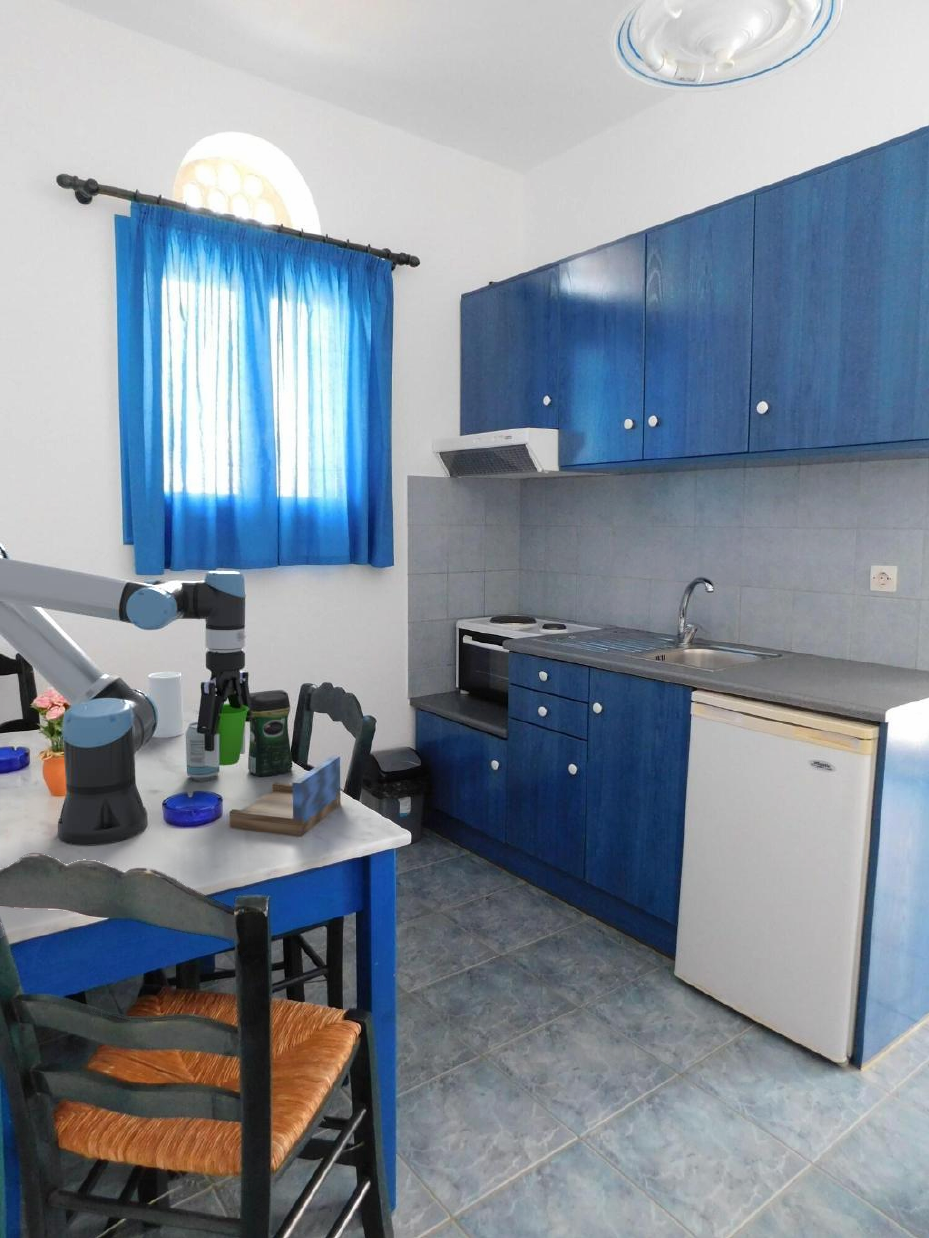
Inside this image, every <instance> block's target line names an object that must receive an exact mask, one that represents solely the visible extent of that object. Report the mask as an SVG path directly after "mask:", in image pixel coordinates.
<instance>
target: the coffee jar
mask: <svg viewBox="0 0 929 1238" xmlns="http://www.w3.org/2000/svg"><path fill="white" fill-rule="evenodd" d="M249 694H250V702H251V710H252V715H251V716H250V717H251V720H250V722H249V745H248V758H247V759H248V760H247V762H248V763H247V765H248V766H247V769H248V771H249V773H250V774H252V775H253V776H258V777H264V776H266V777H267V776H272V775H279V774H283V773H287V772H289V771H291V770H292V769H293V757H292V749H291V743H290V737H289V735H290V734H289V728H288V727H289V725H288V723H289V721H288V720H289V719H288V718H289V714H290V712H291V703H290V698H289V694H288V693H287V692H286V691H285V690H283V689H276V690H274V689H273V690H264V691H259V692H258V691H257V692H249ZM248 717H249V716H248Z"/></svg>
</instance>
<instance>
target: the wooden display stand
mask: <svg viewBox="0 0 929 1238" xmlns="http://www.w3.org/2000/svg"><path fill="white" fill-rule="evenodd" d="M341 801H342V800H341V756H340V755H332V756H330V757H329V758H327V759H325V760H324V761H322V762H321V763H320V764H318V765H316V766H315V767H314V768H312V769H310V770H309V771H308V772H306V773H305V774H303V775H301V776H300V777H299V778H297V779H295V780H294V781H292V783H288V782H273V783H272V790H270V791H269V792H267V793H266V794H264V795H262V796H261V797H259V798H258V799H256V800H255V801H253V802H252V803H250V804H248V805H247V806H245V807H244V808H242V809H235V808H233V809H231V810H230V811H229V828H230V829H234V830H235V829H236V830H242V831H252V832H253V831H254V832H261V833H269V834H276V835H285V836H294V837H303V836H304V835H306V833H308V832H309V831H310V830H311V829H312V828H313V827H314V826H316V825H317V824H318V823H319V822H321V821H322V820H323V819H324V818H326V817H327V816H328V815H330V814H331V813H332V812H334V810H336V809H337V808H339V806H340V805H341V804H342V803H341Z"/></svg>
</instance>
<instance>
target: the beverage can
mask: <svg viewBox="0 0 929 1238" xmlns="http://www.w3.org/2000/svg"><path fill="white" fill-rule="evenodd" d="M197 724H198V721H195V722H192V723H189V724H188V728H187V729H186V731H185V755H186V760H185V761H186V774H187V775H186V776H188V777H190V778H191V779H192V780H194V781H202V782H203V781H209V780H212V779H214V778H215V777H216V776H217V775H218V774H220V768H221V767H220V766H219V767H211V766H205V745H204V744H205V743H204V734H200V733H197Z"/></svg>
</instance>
